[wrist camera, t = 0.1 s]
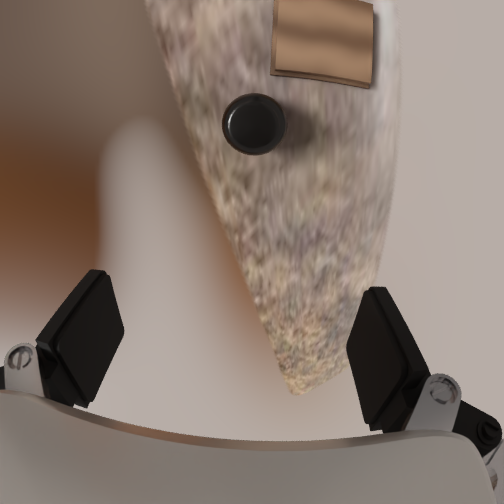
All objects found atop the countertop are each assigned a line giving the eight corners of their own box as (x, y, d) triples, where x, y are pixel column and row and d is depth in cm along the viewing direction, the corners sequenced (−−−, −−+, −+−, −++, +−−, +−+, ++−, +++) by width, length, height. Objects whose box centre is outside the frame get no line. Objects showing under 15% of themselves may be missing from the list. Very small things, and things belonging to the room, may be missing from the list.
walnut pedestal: (274, -8, 25) (275, -16, 23) (368, 8, 25) (376, 2, 23) (270, 75, 32) (270, 72, 29) (366, 88, 32) (374, 87, 29)
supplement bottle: (292, 128, 35) (305, 137, 25) (249, 156, 37) (245, 177, 27) (262, 86, 32) (262, 77, 22) (219, 116, 35) (201, 119, 24)
